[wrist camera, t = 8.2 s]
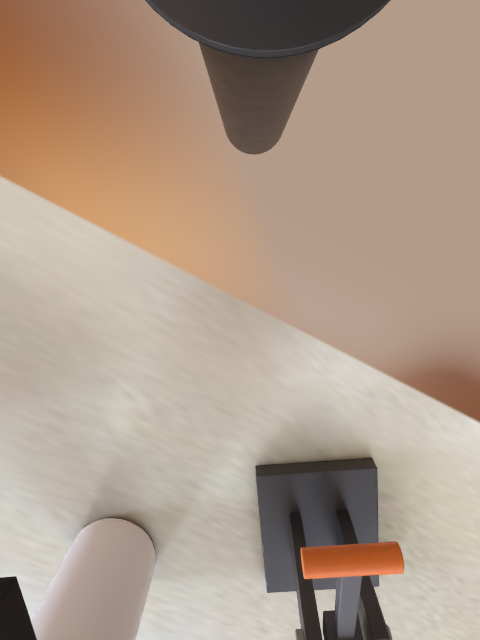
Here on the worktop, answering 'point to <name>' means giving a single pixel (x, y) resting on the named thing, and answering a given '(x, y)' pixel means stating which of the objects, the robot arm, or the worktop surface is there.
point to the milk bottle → (99, 585)
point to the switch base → (319, 531)
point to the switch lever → (349, 579)
